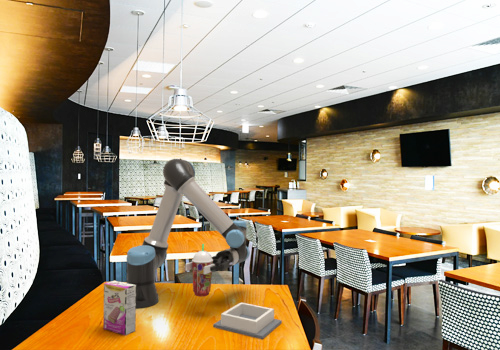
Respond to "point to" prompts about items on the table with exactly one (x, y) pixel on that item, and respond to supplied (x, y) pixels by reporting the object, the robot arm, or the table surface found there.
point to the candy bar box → (119, 307)
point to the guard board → (248, 320)
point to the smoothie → (201, 273)
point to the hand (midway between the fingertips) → (195, 269)
